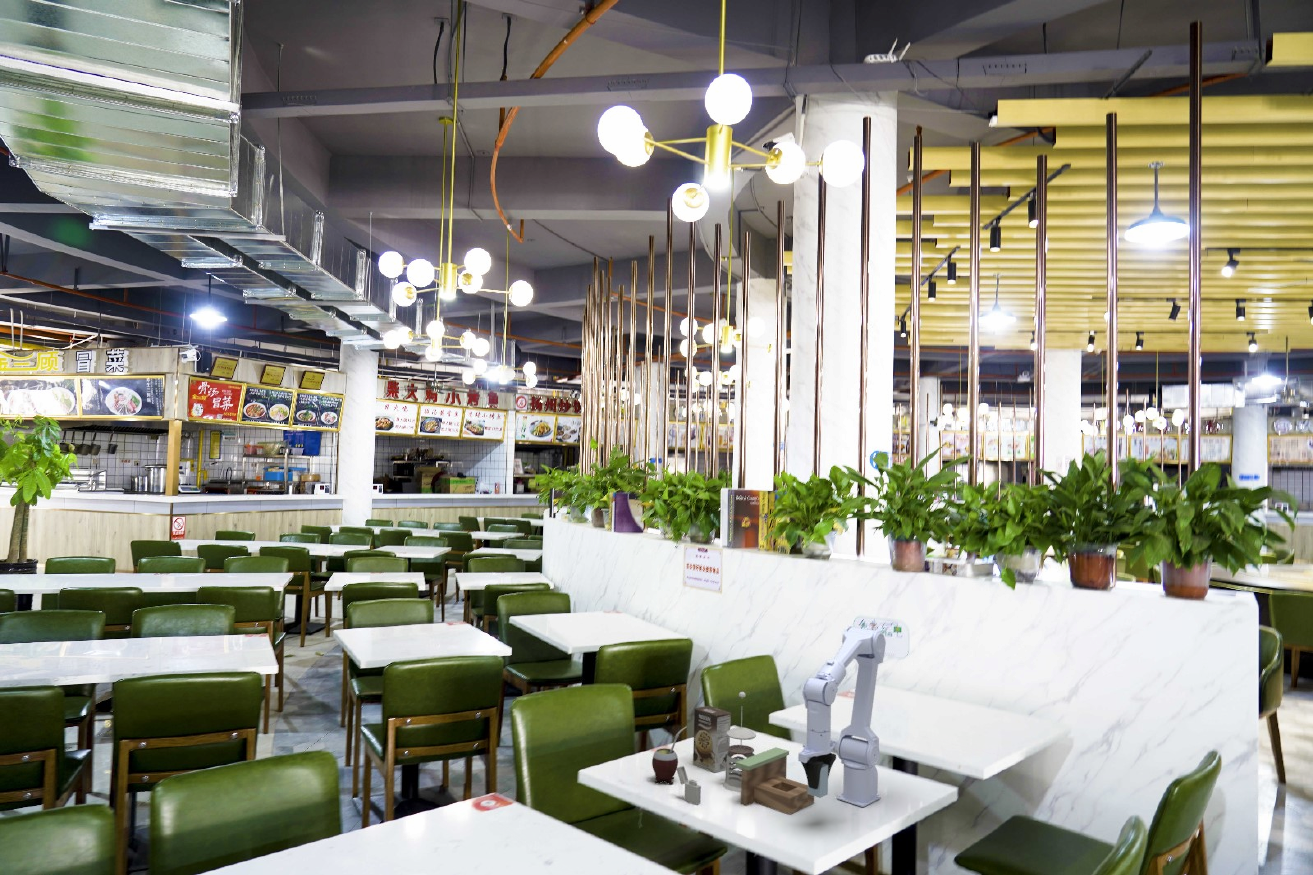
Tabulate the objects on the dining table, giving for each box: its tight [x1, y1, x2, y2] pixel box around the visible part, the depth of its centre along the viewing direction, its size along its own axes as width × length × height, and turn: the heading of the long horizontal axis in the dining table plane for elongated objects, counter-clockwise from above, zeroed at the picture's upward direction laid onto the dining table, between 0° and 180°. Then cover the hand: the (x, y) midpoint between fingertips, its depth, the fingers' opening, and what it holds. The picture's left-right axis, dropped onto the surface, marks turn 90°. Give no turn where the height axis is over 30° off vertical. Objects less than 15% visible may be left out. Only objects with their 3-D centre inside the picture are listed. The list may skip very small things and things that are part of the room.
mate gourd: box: [651, 725, 688, 785], centre depth 227 cm, size 8×8×15 cm
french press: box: [716, 691, 757, 793], centre depth 226 cm, size 10×12×25 cm
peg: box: [807, 764, 829, 799], centre depth 201 cm, size 4×4×7 cm
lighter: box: [676, 765, 702, 806], centre depth 213 cm, size 7×2×8 cm, turn 48°
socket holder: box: [735, 746, 815, 816], centre depth 215 cm, size 18×14×10 cm
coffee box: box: [692, 705, 732, 774], centre depth 239 cm, size 9×6×16 cm
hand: (817, 786), depth 201 cm, fingers closed on peg, 3 cm apart
